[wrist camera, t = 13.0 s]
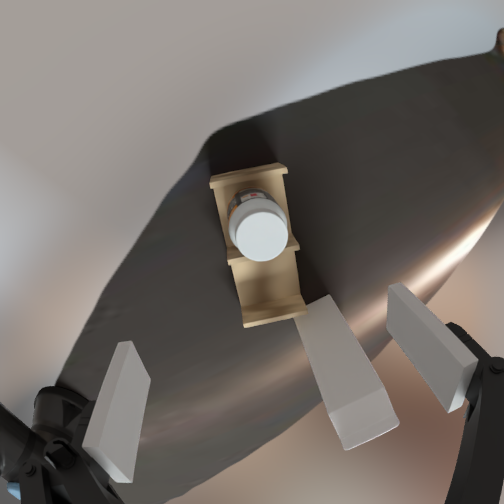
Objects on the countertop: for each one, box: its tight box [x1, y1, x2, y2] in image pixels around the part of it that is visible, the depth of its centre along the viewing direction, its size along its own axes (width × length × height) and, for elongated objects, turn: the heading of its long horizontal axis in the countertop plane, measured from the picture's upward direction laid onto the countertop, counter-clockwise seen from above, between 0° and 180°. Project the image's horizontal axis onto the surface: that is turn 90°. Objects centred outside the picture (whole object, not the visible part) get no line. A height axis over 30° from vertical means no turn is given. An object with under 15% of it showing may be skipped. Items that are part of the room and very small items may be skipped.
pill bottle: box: [227, 186, 288, 261], centre depth 32 cm, size 6×6×10 cm
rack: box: [210, 163, 308, 328], centre depth 37 cm, size 8×18×5 cm, turn 11°
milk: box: [293, 294, 399, 450], centre depth 35 cm, size 6×6×22 cm
